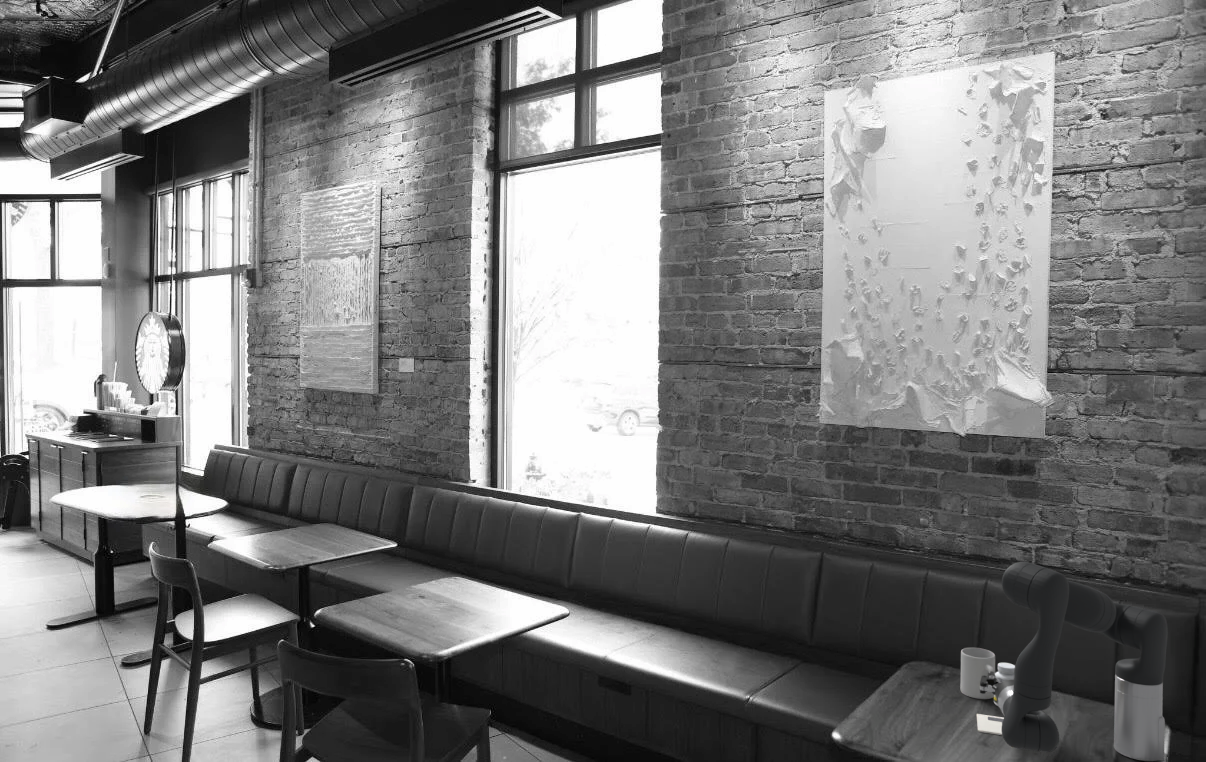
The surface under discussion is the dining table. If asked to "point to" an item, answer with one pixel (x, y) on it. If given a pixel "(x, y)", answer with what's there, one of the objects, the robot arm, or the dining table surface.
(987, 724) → the letter card
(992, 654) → the mug
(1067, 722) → the dining table surface
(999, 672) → the supplement bottle
